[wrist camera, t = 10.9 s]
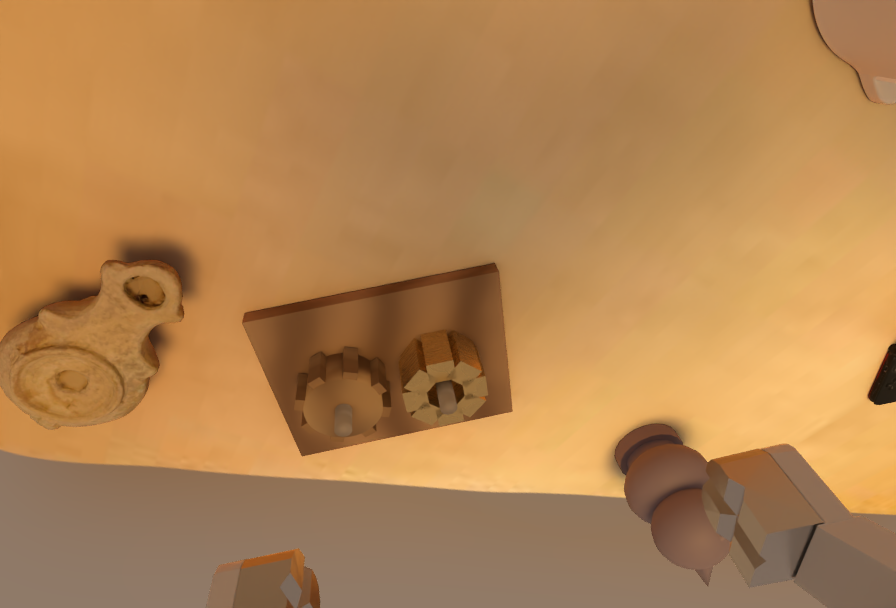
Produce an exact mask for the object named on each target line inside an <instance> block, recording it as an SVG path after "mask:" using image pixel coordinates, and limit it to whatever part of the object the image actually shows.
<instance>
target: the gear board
mask: <svg viewBox="0 0 896 608" xmlns="http://www.w3.org/2000/svg"><path fill="white" fill-rule="evenodd" d="M242 324H243V326H244V328H245V331H246V333H247V335H248V337H249V340H250V342H251V344H252V346H253V348H254V351H255V353H256V355H257V357H258V360H259V362H260V364H261V366H262V368H263V371H264V373H265V375H266V377H267V380H268V382H269V384H270V386H271V389H272V391H273V393H274V395H275V397H276V400H277V402H278V404H279V406H280V409H281V411H282V413H283V415H284V418H285V420H286V422H287V424H288V426H289V429H290V431H291V433H292V435H293V438H294V440H295V442H296V444H297V446H298V449H299V451H300V453H301V455H302V456H306V455H310V454H315V453H320V452H324V451H329V450H334V449H339V448H343V447H348V446H353V445H357V444H362V443H367V442H371V441H376V440H381V439H386V438H390V437H395V436H400V435H404V434H409V433H414V432H418V431H423V430H428V429H433V428H437V427H442V426H447V425H451V424H456V423H461V422H465V421H470V420H475V419H480V418H484V417H489V416H494V415H498V414H503V413H508V412H512V401H511V391H510V381H509V371H508V360H507V350H506V340H505V330H504V320H503V310H502V300H501V290H500V280H499V271H498V269H497V267H496V265H495V263H494V264H489V265H484V266H479V267H474V268H469V269H464V270H459V271H454V272H449V273H444V274H439V275H434V276H429V277H424V278H419V279H414V280H409V281H404V282H399V283H394V284H389V285H384V286H379V287H374V288H369V289H363V290H358V291H353V292H348V293H343V294H338V295H333V296H328V297H323V298H318V299H313V300H308V301H303V302H298V303H293V304H288V305H283V306H278V307H273V308H268V309H263V310H258V311H253V312H248V313H245V315H244V318H243V322H242ZM444 329H446V333H447V336H448V335H449V334H450V333H451V331H452V330H453V331H455V332H457V333H459V334H461V335H463V336H465V337H467V338H469V339H471V340H472V341H473V344H474V345H476V347H477V350H478V354H479V357H480V360H481V363H482V366H483V369H484V373H485V376H486V383H487V390H488V395H487V396H485V399H486V401H485V402H484V404H483V405H482V406H481V407H480V408H479V409H478V410H477V411H476V412H475V413H474V414H473V415H472V416H471V417H468V416H466V415H464V414H463V418H464V421H460V422H456V423H451V424H446V425H442V426H439V423H438V420H437V421H436V422H435V423H434V424H433V425H430V424H427V423H425V422H422V421H420V420H418V419H415V418H413V417H411V412H407V410H406V407H405V403H404V399H403V395H402V389H401V380H400V371H399V363H398V361H400V355H401V353H402V352H403V351H404V350H405V348H406V347H407V346H408V345H409V344H410V342H411V341H412V340H413V339H414V338H415V339H417V340H419V341H421V335H420V334H425V333H430V332H434V331H439V330H444ZM421 342H422V341H421ZM435 385H436V390H437V395H438V400H439V405H440V410H441V412H442V413H443V414H447V415H449V414H453V413H454V412H456V410H457V402H456V398H455V394H454V390H453V385H452V381H451V380H447V381H442V382H437V383H435Z"/></svg>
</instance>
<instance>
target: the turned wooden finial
mask: <svg viewBox="0 0 896 608" xmlns="http://www.w3.org/2000/svg"><path fill="white" fill-rule="evenodd" d="M615 458H616V461H617V463H618V465H619V467H620V469H621V471H622V472H623V473H624V474H625V475H626V479H625V485H624V492H625V496H626V499H627V502H628V504H629V507H630V508H631V510H632V511H633V512H634V513H635V514H636V515H638V517H640V518H641V519H642V520H644V521H645V522H648V523H650V524H651V531H652V536H653V539H654V542H655V545H656V547H657V548H658V550H659V551H660V552H661V554H662V555H663V556H664V557H666V558H667V559H668V560H669V561H670V562H672V563H673V564H675V565H677V566H680V567H683V568H686V569H693V570H695V571H696V572H697V573H698V575H699V576H700V577H701V578H702V580H703V581H704V582H705V584H706V585H707V586H708V585H709V581H710V577H711V573H712V568H713V566H714V565H716V564H718V563H719V562H721V561H722V560H723V559H724V558H725V557H726V556H727V555H728V553H729V549H730V541H729V540H727V539H726V538H724V537H722V536H721V535H719V534H718V533H716V531H715V530H714V528H713V526H712V525H711V523H710V521H709V519H708V517H707V514H706V512H705V510H704V505H703V500H702V489H703V485H704V484H705V483H706V482H707V481H708V480H709V479H710V477H709V476H708V474H707V473H706V467H707V463H708V462H707V461H706V460H705V459H704V457H703V456H702V455H701V454H700V453H699V452H697V451H696V450H693V449H691V448H689V447H686V446H684V445H683V443H682V441H681V439H680V438H679V436H678V435H677V433H676V432H675V431H674V430H673V429H672V428H671V427H670V426H667V425H664V424H651V425H645V426H642V427H640V428H637V429H635V430H633V431H632V432H630V433H629V434H627V435H626V436H625V437H624V438H623V439H622V440H621V441H620V442H619V444H618V446H617V447H616V450H615Z"/></svg>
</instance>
